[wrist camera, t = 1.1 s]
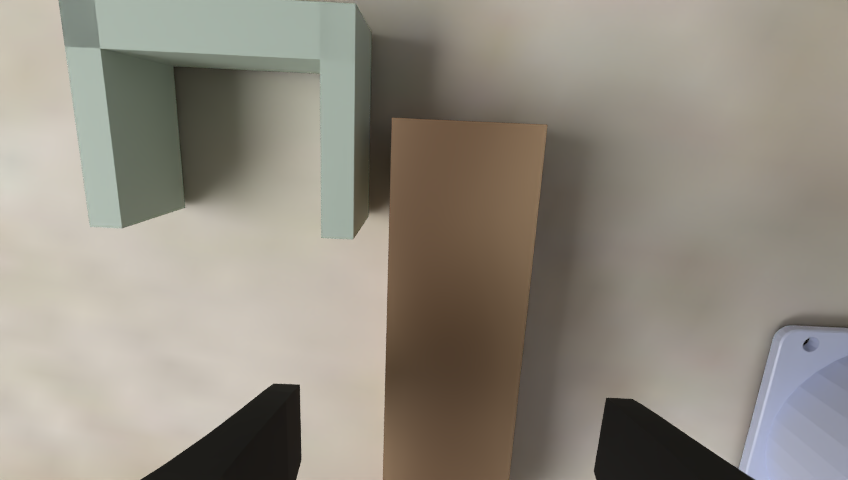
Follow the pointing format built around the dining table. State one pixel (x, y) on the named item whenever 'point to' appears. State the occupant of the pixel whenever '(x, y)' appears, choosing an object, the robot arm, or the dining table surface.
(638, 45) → the dining table surface
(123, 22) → the sliding cap
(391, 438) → the slat
